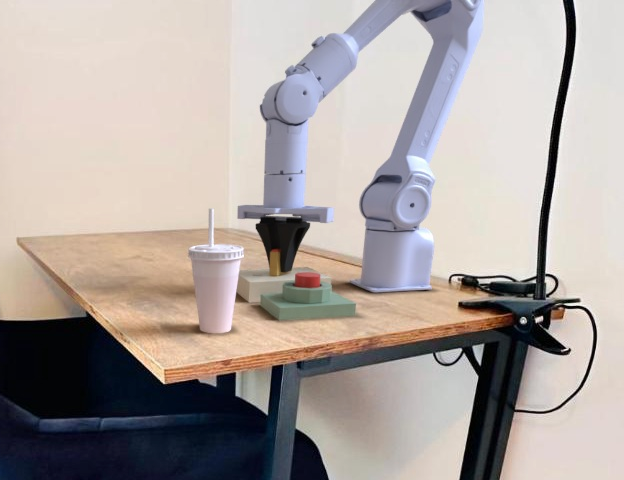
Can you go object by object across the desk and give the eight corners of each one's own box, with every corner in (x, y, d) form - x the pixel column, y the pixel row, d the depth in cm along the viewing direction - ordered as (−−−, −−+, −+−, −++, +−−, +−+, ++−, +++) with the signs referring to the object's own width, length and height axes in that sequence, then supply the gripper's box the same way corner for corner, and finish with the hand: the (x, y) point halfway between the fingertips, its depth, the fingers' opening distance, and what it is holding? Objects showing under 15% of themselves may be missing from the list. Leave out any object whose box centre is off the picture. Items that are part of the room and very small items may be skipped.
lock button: (313, 284, 74) (314, 271, 73) (323, 289, 71) (324, 276, 70) (290, 285, 73) (291, 272, 73) (299, 290, 70) (300, 277, 70)
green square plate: (329, 301, 77) (331, 277, 76) (355, 316, 70) (357, 289, 69) (260, 305, 76) (260, 280, 75) (279, 321, 69) (280, 293, 68)
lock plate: (306, 285, 88) (307, 265, 87) (330, 298, 79) (331, 276, 78) (233, 289, 86) (233, 269, 85) (249, 303, 78) (249, 280, 77)
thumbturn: (283, 271, 84) (285, 246, 82) (291, 272, 83) (292, 246, 82) (269, 275, 81) (270, 249, 80) (276, 276, 80) (277, 250, 79)
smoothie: (190, 322, 69) (189, 207, 65) (241, 322, 69) (244, 205, 64) (187, 336, 63) (185, 211, 59) (243, 337, 63) (246, 210, 58)
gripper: (225, 175, 79) (224, 269, 83) (319, 174, 70) (312, 280, 74) (253, 173, 84) (250, 263, 88) (343, 172, 75) (335, 272, 79)
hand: (280, 270), depth 82 cm, fingers closed on thumbturn
